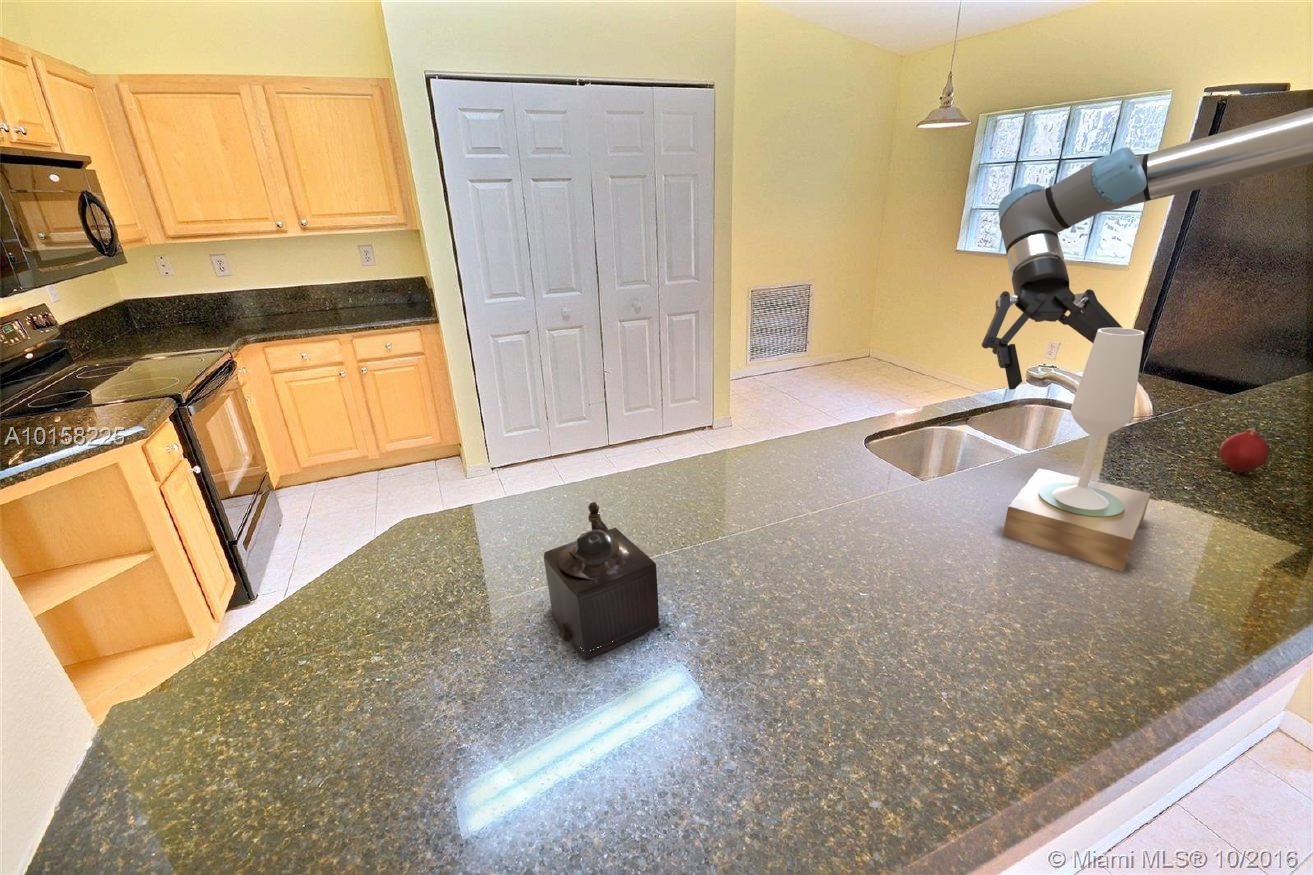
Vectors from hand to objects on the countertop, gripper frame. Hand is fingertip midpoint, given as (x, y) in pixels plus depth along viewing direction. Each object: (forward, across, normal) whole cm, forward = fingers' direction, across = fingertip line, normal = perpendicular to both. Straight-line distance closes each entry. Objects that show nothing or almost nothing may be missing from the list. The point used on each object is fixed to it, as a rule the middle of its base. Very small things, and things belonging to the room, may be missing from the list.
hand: (1064, 385), depth 87 cm
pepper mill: (+40, +64, +12) cm, 76 cm away
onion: (+7, -35, -19) cm, 41 cm away
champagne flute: (+17, 0, -2) cm, 17 cm away
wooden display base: (+21, 0, -5) cm, 22 cm away
